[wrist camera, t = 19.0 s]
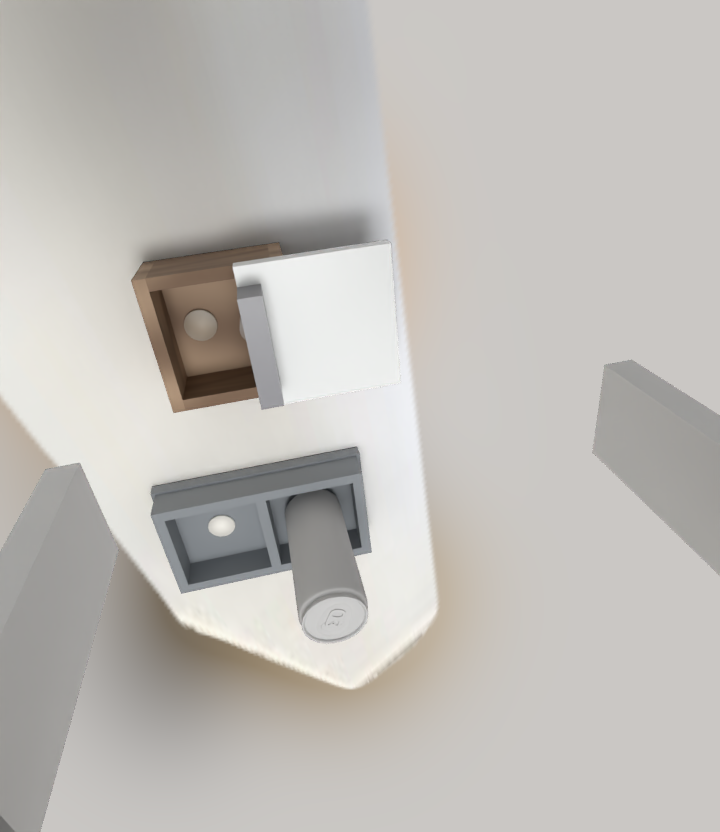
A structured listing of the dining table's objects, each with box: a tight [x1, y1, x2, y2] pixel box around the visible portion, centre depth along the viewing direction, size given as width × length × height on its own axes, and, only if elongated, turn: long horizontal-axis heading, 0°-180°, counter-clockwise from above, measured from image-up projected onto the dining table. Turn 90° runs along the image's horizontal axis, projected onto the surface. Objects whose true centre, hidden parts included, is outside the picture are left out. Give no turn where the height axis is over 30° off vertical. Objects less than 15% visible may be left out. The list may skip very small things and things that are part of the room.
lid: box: [233, 240, 401, 410], centre depth 33 cm, size 9×9×3 cm
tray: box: [131, 242, 283, 413], centre depth 36 cm, size 9×9×4 cm
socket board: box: [151, 447, 372, 594], centre depth 46 cm, size 9×17×4 cm, turn 96°
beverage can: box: [285, 489, 368, 643], centre depth 41 cm, size 5×5×12 cm
